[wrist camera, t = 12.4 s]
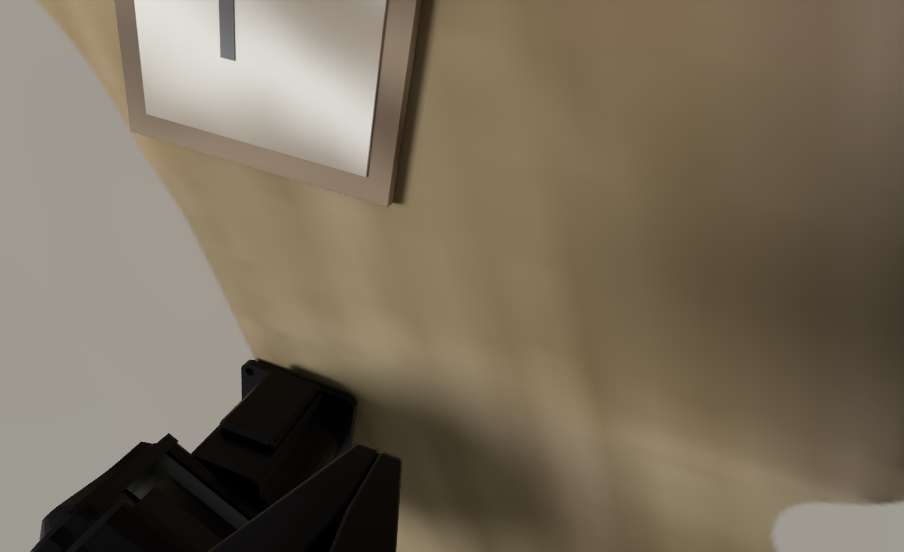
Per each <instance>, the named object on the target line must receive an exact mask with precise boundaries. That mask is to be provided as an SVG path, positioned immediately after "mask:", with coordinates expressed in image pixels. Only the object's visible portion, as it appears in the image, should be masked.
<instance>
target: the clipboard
mask: <svg viewBox="0 0 904 552" xmlns="http://www.w3.org/2000/svg"><path fill="white" fill-rule="evenodd" d="M421 6H422V0H115V7H116V15H117V23H118V31H119V40H120V48H121V56H122V64H123V72H124V80H125V88H126V96H127V104H128V112H129V120H130V128H131V132H134V133H138V134H141V135H144V136H148V137H151V138H155V139H158V140H161V141H165V142H168V143H171V144H175V145H178V146H182V147H185V148H188V149H192V150H195V151H199V152H202V153H205V154H209V155H212V156H215V157H219V158H222V159H226V160H229V161H232V162H236V163H239V164H243V165H246V166H249V167H253V168H256V169H259V170H263V171H266V172H270V173H273V174H276V175H280V176H283V177H287V178H290V179H293V180H297V181H300V182H303V183H307V184H310V185H314V186H317V187H320V188H324V189H327V190H331V191H334V192H337V193H341V194H344V195H347V196H351V197H354V198H358V199H361V200H364V201H368V202H371V203H375V204H378V205H381V206H385V207H388V206H389V205H391V204H392V203H393V197H394V190H395V184H396V177H397V170H398V163H399V156H400V150H401V143H402V136H403V129H404V122H405V116H406V109H407V102H408V95H409V88H410V81H411V75H412V68H413V61H414V54H415V47H416V41H417V34H418V27H419V20H420V13H421Z"/></svg>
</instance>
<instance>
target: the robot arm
mask: <svg viewBox="0 0 904 552" xmlns="http://www.w3.org/2000/svg"><path fill="white" fill-rule="evenodd" d="M241 374H242V401H241V402H240V403H239V404H238V405H237V406H236V407H235V408H234V409H233V410H232V411H231V412H230V413H229V414H228V415H227V416H226V417H225V418H224V419H223V420H222V421H221V422H220V425H219V426H218V427H217V428H216V429H215V430H214V431H213V432H212V433H211V434H210V435H209V436H208V437H207V438H206V439H205V440H204V441H203V442H202V443H201V444H200V445H199V446H198V447H197V448H196V449H195V450H194V451H193V452H192V453H191V454H190V453H189V452H188V451H186V450H185V449H184V448H183V447H181V446H180V445H179V444H178V443H177V442H178V440H177V439H175V438H174V437H173V436H172V435H171V434H169V433H168V434H167V435H166V436H165V437H164V438H162V439H161V440H160V441H159V442H158V443H154V444H151V443H146V442H140V443H139V444H138V445H137V446H136V447H135V448H133V449H132V450H131V451H130V452H129V453H128V454H127V455H125V456H124V457H123V458H122V459H121V460H120V461H118V462H117V463H116V464H115V465H114V466H113V467H111V468H110V469H109V470H108V471H106V472H105V473H104V474H102V475H101V476H100V477H98V478H97V479H95V480H94V481H93V482H91V483H90V484H88V485H87V486H85V487H84V488H83V489H81V490H80V491H79V492H77V493H76V494H74V495H73V496H71V497H70V498H69V499H67V500H66V501H64V502H63V503H62V504H60V505H59V506H57V507H56V508H55V509H54V510H53V511H51V512H50V513H49V514H48V515H47V516H46V517H45V518H44V519H43V520H42V526H41V534H40V541H39V542H38V543H37V544H36V546H35V547H34V548H33V549H32V550H31V552H396V547H397V532H398V517H399V502H400V487H401V472H402V459H401V458H400V457H398V456H395V455H393V454H390V453H387V452H381V453H380V452H379V450H378V449H376V448H374V447H371V446H368V445H366V444H363V443H358V444H356V445H354V446H353V447H351V445H352V438H353V431H354V424H355V417H356V409H357V401H356V399H355V398H354V397H353V396H351V395H350V394H347V393H344V392H341V391H339V390H336V389H333V388H330V387H327V386H325V385H322V384H319V383H316V382H313V381H311V380H308V379H305V378H302V377H300V376H297V375H294V374H291V373H288V372H286V371H283V370H280V369H277V368H275V367H272V366H269V365H266V364H263V363H261V362H258V361H255V360H249V361H247V362H246V363H245V364H244V365H243V366H242V368H241ZM345 403H346V404H345ZM347 404H348V405H347Z"/></svg>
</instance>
